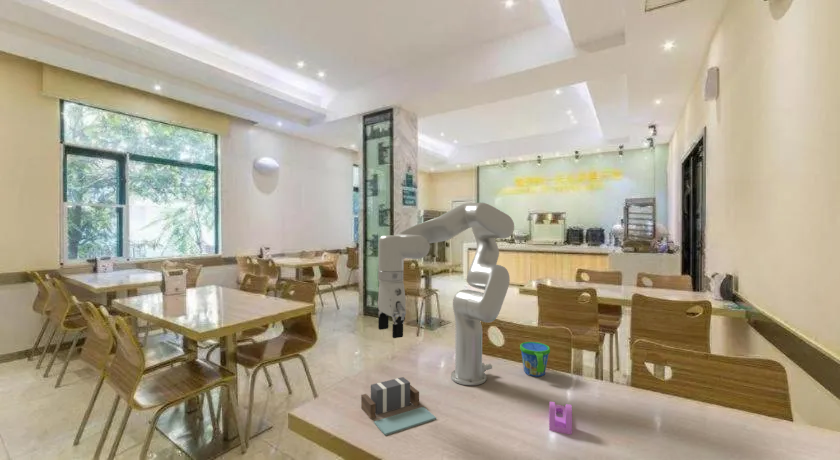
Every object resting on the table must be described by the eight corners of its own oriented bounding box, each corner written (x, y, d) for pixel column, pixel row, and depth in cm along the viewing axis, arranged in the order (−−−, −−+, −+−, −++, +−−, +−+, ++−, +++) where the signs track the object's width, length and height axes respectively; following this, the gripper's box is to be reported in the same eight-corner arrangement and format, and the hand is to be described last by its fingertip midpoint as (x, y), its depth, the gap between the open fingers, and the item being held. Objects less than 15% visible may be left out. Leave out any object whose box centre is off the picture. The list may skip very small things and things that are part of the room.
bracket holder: (408, 395, 118) (408, 383, 118) (419, 404, 112) (419, 391, 112) (361, 408, 110) (361, 394, 110) (370, 418, 104) (370, 404, 104)
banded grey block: (403, 399, 116) (403, 376, 116) (410, 405, 112) (410, 382, 112) (370, 407, 110) (370, 384, 110) (376, 414, 106) (376, 390, 106)
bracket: (571, 434, 97) (572, 408, 97) (549, 430, 99) (549, 405, 98) (569, 411, 109) (569, 387, 109) (549, 407, 111) (549, 385, 111)
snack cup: (553, 383, 127) (554, 354, 127) (522, 381, 129) (522, 352, 129) (545, 366, 143) (545, 340, 143) (517, 364, 144) (517, 338, 144)
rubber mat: (423, 408, 110) (423, 406, 110) (436, 419, 104) (436, 417, 104) (374, 423, 102) (374, 421, 102) (385, 435, 96) (385, 433, 96)
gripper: (416, 279, 105) (415, 339, 105) (389, 272, 120) (388, 324, 120) (392, 281, 101) (391, 343, 101) (368, 273, 116) (367, 327, 116)
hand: (390, 333), depth 111 cm, fingers open, 9 cm apart
